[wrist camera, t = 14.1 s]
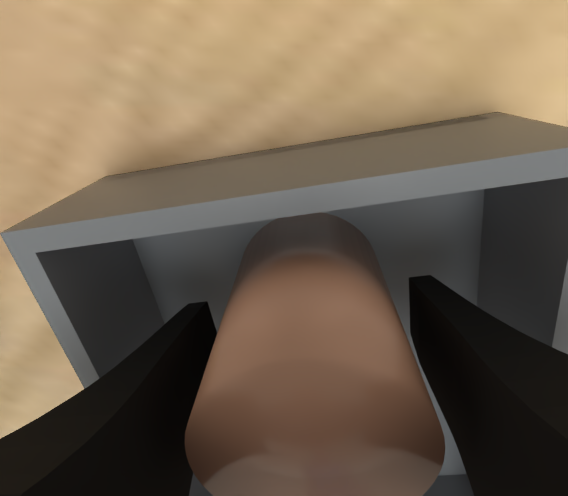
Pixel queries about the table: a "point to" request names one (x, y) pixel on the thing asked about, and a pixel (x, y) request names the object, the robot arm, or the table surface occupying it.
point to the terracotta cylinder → (312, 376)
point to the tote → (306, 200)
